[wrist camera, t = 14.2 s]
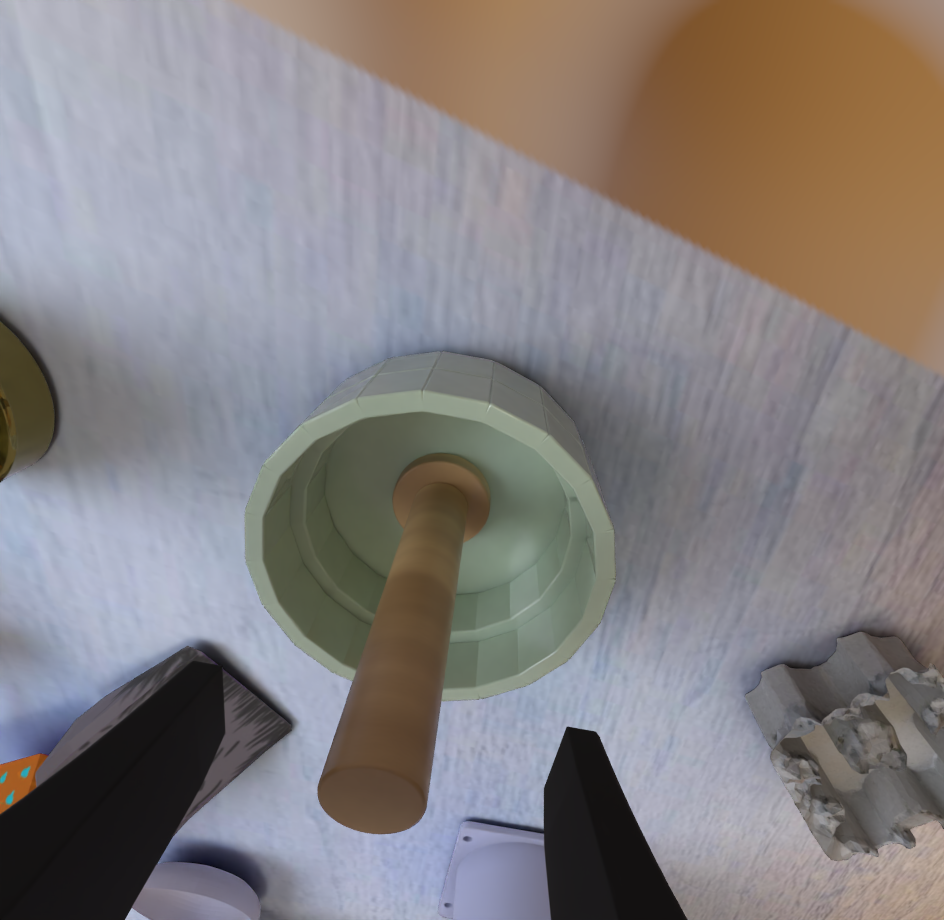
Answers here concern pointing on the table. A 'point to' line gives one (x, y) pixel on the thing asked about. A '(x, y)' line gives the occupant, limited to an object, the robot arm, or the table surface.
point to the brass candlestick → (22, 407)
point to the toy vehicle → (244, 712)
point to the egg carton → (858, 743)
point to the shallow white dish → (196, 894)
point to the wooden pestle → (405, 654)
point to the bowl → (378, 531)
